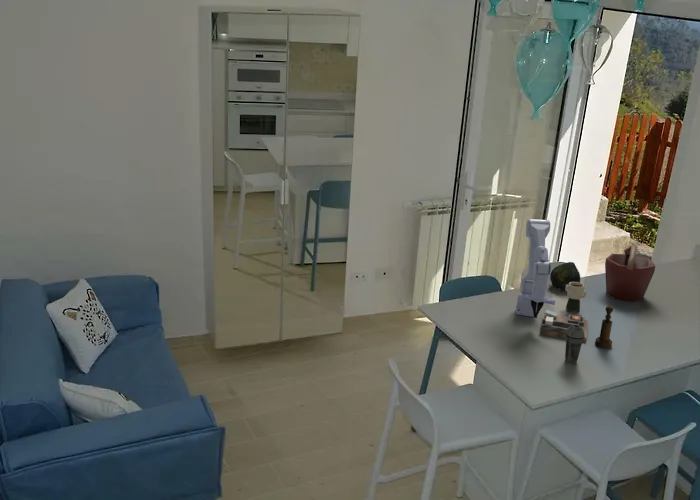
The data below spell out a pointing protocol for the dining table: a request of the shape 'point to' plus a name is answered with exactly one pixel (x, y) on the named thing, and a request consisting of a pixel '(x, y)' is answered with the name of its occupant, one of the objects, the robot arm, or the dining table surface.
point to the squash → (564, 275)
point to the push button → (575, 318)
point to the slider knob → (549, 321)
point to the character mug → (574, 295)
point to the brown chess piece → (605, 331)
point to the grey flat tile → (551, 313)
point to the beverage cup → (573, 343)
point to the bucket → (628, 275)
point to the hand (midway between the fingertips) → (535, 317)
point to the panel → (562, 326)
